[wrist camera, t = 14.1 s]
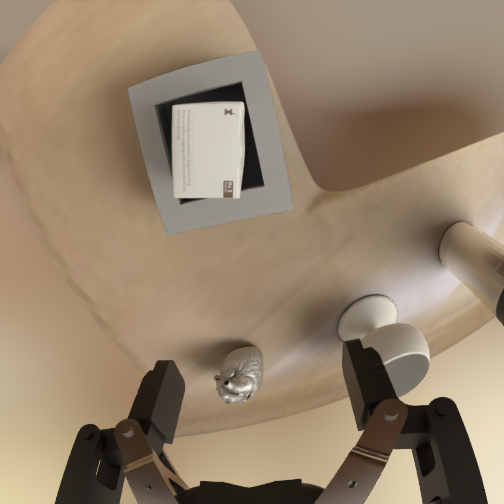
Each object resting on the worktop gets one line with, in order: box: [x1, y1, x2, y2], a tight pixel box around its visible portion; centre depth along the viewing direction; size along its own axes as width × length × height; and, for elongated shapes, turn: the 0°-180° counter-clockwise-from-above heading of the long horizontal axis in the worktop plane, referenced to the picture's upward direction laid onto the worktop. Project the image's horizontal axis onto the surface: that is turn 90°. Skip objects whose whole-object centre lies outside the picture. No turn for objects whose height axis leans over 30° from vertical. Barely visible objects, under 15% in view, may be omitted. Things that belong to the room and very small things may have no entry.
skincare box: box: [172, 102, 245, 199], centre depth 27 cm, size 8×6×15 cm
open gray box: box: [127, 50, 294, 236], centre depth 30 cm, size 14×17×10 cm
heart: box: [214, 346, 263, 404], centre depth 46 cm, size 10×10×12 cm
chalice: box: [338, 295, 430, 398], centre depth 40 cm, size 14×14×15 cm
